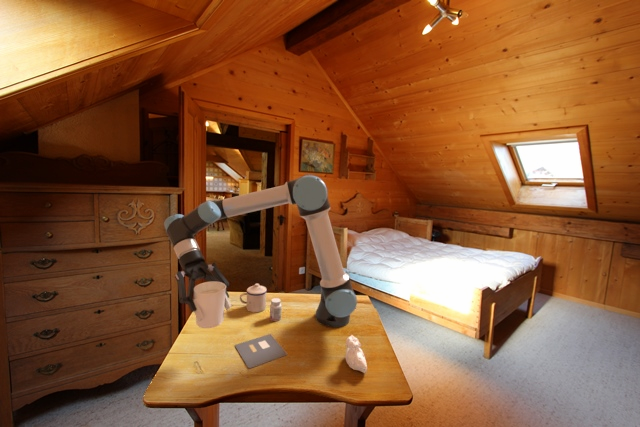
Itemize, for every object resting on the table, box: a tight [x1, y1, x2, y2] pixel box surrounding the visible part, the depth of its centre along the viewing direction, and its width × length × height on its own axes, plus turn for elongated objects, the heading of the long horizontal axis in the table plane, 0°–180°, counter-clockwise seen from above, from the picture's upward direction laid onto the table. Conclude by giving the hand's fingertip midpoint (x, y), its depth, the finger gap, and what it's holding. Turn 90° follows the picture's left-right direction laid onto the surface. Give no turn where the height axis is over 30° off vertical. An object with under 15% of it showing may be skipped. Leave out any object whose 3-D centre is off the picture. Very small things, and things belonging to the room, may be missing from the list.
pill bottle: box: [269, 297, 282, 322], centre depth 121 cm, size 5×5×8 cm
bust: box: [344, 334, 368, 374], centre depth 94 cm, size 12×8×11 cm
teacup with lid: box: [239, 283, 268, 313], centre depth 128 cm, size 12×9×12 cm
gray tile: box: [234, 333, 289, 370], centre depth 100 cm, size 14×14×1 cm
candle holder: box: [193, 281, 227, 329], centre depth 92 cm, size 10×10×12 cm
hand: (215, 313), depth 90 cm, fingers closed on candle holder, 9 cm apart
